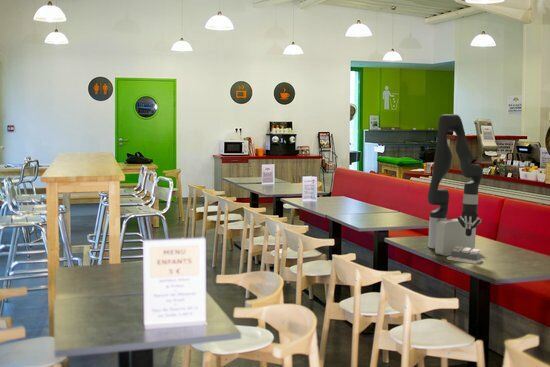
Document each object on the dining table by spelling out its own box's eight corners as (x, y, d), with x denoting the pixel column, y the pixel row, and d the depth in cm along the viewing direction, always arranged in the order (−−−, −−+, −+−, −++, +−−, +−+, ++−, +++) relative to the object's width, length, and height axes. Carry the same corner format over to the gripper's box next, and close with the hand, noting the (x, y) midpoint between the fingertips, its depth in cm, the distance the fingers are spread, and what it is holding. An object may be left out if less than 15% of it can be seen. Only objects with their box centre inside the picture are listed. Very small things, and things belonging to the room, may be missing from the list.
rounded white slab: (462, 248, 377) (464, 216, 375) (474, 250, 371) (476, 218, 369) (431, 253, 359) (432, 220, 357) (442, 256, 353) (444, 222, 351)
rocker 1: (457, 247, 351) (457, 245, 351) (462, 248, 349) (462, 246, 349) (453, 251, 348) (453, 249, 347) (459, 252, 346) (459, 250, 345)
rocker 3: (473, 250, 346) (473, 248, 346) (479, 251, 344) (479, 249, 344) (470, 253, 342) (470, 251, 342) (476, 254, 340) (476, 252, 340)
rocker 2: (465, 249, 349) (465, 247, 348) (471, 250, 347) (471, 247, 346) (461, 252, 345) (461, 250, 345) (467, 253, 343) (467, 251, 343)
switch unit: (454, 256, 353) (455, 249, 353) (482, 260, 344) (483, 254, 344) (446, 259, 346) (447, 252, 345) (475, 264, 337) (475, 257, 336)
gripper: (485, 203, 343) (483, 236, 345) (461, 200, 352) (459, 233, 353) (480, 204, 338) (478, 238, 339) (455, 202, 346) (453, 235, 347)
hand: (468, 235), depth 346 cm, fingers closed
